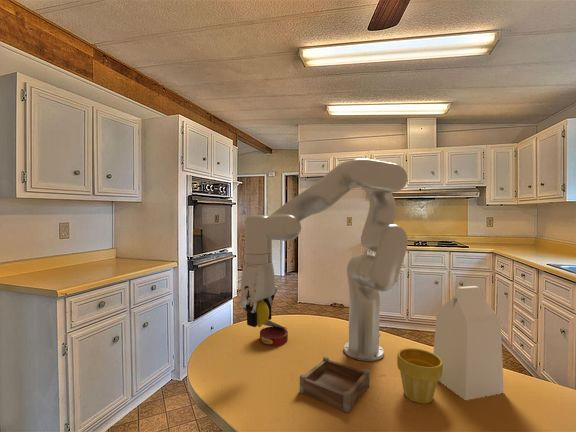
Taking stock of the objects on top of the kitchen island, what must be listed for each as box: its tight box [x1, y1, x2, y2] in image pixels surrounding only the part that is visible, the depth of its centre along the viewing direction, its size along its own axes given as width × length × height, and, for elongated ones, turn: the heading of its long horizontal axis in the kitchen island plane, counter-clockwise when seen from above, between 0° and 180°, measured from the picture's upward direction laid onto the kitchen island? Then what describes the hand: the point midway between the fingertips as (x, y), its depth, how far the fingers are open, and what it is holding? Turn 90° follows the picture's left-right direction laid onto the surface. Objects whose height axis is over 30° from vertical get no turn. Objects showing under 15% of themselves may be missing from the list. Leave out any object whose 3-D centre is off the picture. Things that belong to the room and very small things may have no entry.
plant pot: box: [396, 347, 443, 404], centre depth 77 cm, size 10×10×10 cm
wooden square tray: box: [299, 356, 371, 414], centre depth 80 cm, size 14×14×4 cm
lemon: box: [250, 300, 269, 328], centre depth 88 cm, size 6×6×8 cm
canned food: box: [259, 320, 289, 347], centre depth 109 cm, size 11×10×10 cm
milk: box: [433, 285, 505, 401], centre depth 82 cm, size 12×12×26 cm
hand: (259, 321), depth 88 cm, fingers closed on lemon, 5 cm apart
